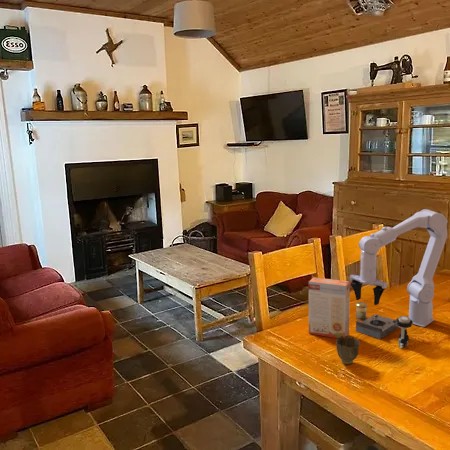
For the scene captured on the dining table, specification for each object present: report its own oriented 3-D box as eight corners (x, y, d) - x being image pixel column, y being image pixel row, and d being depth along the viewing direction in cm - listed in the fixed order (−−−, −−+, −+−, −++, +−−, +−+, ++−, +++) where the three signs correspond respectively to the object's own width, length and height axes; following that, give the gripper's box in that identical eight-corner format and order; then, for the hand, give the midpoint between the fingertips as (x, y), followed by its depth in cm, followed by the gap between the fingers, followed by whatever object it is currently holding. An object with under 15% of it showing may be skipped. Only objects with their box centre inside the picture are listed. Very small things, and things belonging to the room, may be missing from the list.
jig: (374, 320, 181) (375, 310, 180) (398, 327, 174) (399, 317, 173) (355, 331, 172) (356, 321, 171) (380, 339, 164) (380, 328, 164)
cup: (355, 371, 144) (355, 347, 142) (332, 365, 147) (332, 342, 146) (361, 360, 150) (362, 338, 148) (339, 355, 154) (340, 333, 152)
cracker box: (349, 334, 169) (350, 280, 165) (345, 340, 164) (346, 285, 160) (313, 327, 176) (313, 276, 172) (308, 333, 171) (308, 280, 167)
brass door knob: (359, 314, 186) (359, 301, 185) (369, 318, 183) (369, 304, 182) (352, 318, 183) (353, 304, 182) (363, 321, 180) (363, 307, 179)
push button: (408, 351, 155) (409, 323, 153) (392, 347, 158) (393, 320, 156) (412, 343, 160) (414, 317, 158) (397, 340, 164) (398, 313, 161)
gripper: (345, 266, 174) (345, 300, 177) (381, 274, 164) (379, 309, 167) (355, 262, 179) (354, 295, 182) (390, 269, 169) (388, 304, 172)
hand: (367, 301), depth 175 cm, fingers open, 7 cm apart
